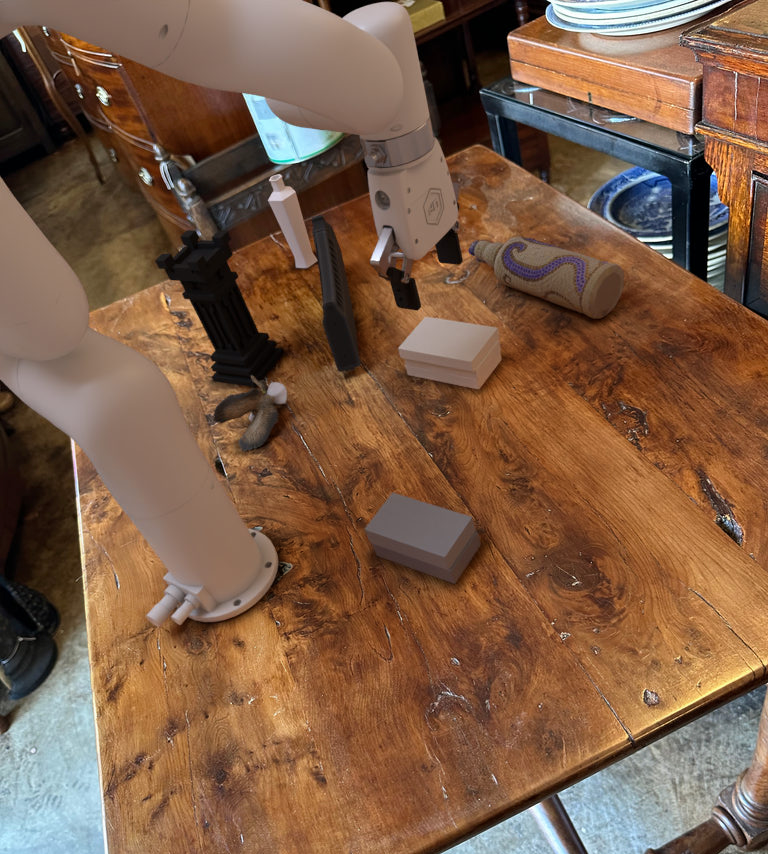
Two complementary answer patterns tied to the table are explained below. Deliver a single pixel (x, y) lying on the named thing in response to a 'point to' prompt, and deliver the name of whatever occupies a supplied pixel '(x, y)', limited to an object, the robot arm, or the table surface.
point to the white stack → (457, 370)
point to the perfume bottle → (291, 221)
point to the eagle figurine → (253, 411)
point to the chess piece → (221, 309)
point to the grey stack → (423, 537)
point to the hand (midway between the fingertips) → (430, 284)
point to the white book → (449, 343)
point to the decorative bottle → (554, 274)
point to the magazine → (335, 297)
